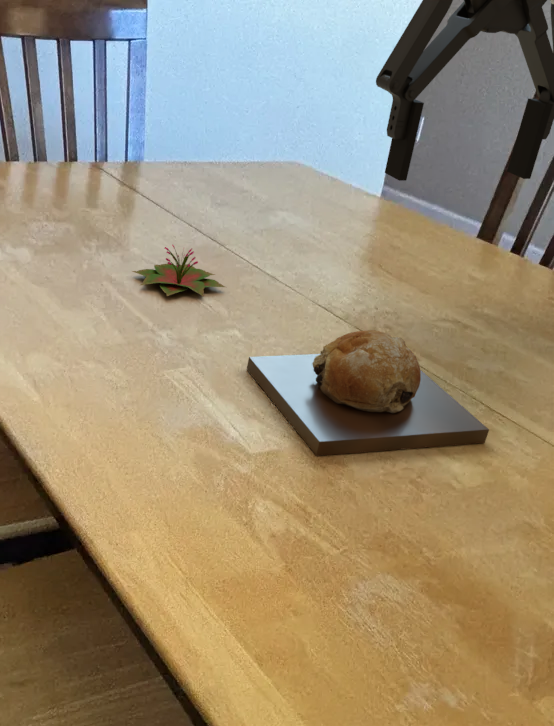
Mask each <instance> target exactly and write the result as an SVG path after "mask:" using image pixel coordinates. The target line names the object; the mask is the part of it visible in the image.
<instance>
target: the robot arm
mask: <svg viewBox="0 0 554 726" xmlns="http://www.w3.org/2000/svg"><path fill="white" fill-rule="evenodd" d="M453 1H454V0H421V2H420V4H419V6H418V7H417V9H416V11H415V13H414V14H413V16H412V17H411V19H410V20H409V22H408V24H407V25H406V27H405V29H404V31H403V33H402V34H401V36H400V38H399V39H398V41H397V43H396V44H395V46H394V48H393V49H392V51H391V53H390V54H389V56H388V58H387V60H386V61H385V63H384V64H383V66H382V67H381V69H380V71H379V73H378V74H377V76H376V78H375V85H376V86H377V87H378V88H380V89H382V90H384V91H385V92H388V93H389V94H390V95H391V97H392V102H391V107H390V112H389V116H388V121H387V127H386V136H387V137H389V138H391V141H390V145H389V151H388V156H387V159H386V164H385V165H386V166H385V171H384V174H386V175H388V176H390V177H392V178H394V179H395V180H397V181H400V182H403V181H407V180H408V176H409V170H410V168H411V167H410V166H411V162H412V158H413V153H414V148H415V144H416V139H417V136H418V131H419V126H420V123H421V118H422V114H423V109H424V104H425V102H423V101H421V100H418V99H417V98H418V97H419V96H420V94H421V93H422V92H423V91H425V89H426V88H427V87H428V86H429V84H430V83H432V81H433V80H434V79H435V78H436V77H437V76H438V74H439V73H441V72H442V70H443V69H445V67H446V66H447V65H448V63H450V61H451V60H452V59H453V58H454V57H455V56H456V55H457V53H458V52H459V51H460V50H461V49H462V48H463V47H464V46H465V45H466V44H467V42H469V40H471V39H473V38H476V36H478V35H479V34H480V33H481V32H482V33H487V34H497V33H500V32H501V33H506V34H510V35H511V34H512V35H515V36H516V37H517V39H518V42H519V45H520V48H521V51H522V53H523V57H524V60H525V63H526V65H527V69H528V72H529V75H530V77H531V80H532V83H533V86H534V89H535V92H536V94H537V97H538V99H537V98H527V101H526V103H525V108H524V111H523V115H522V118H521V122H520V124H519V129H518V132H517V135H516V139H515V142H514V145H513V149H512V152H511V157H510V158H509V159H510V160H509V162H508V166H507V170H506V172H507V173H509V174H512V175H514V176H516V177H518V178H520V179H524V180H529V179H530V180H531V177H532V174H533V172H534V168H535V166H536V165H535V164H536V161H537V158H538V155H539V151H540V148H541V145H542V142H543V140H547V138H548V137H549V135H550V133H551V130H552V127H553V123H554V0H549V2H550V22H551V23H550V24H551V38H552V40H551V41H552V45H551V42H550V39H549V36H548V35H549V34H548V33H547V31H548V30H549V25H548V21H547V18H546V14H545V13H544V12H545V11H544V8H543V6H544V5H545V4H546V2H548V0H463V1H462V3H461V4H460V5H459V6H458V7H456V9H455V10H454V12H453V13H452V14H451V15H450V16H449V17H448V18H447V23H446V25H445V26H444V27H443V28H442V30H441V31H440V32H439V33H437V35H436V36H435V33H436V31H437V30H438V28H439V27H440V25H441V23H442V22H443V20H444V18H445V16H446V15H447V13H448V11H449V10H450V8H451V6H452V4H453ZM434 36H435V37H434ZM433 37H434V38H433ZM432 38H433V40H432ZM431 40H432V41H431Z"/></svg>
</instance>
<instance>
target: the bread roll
mask: <svg viewBox="0 0 554 726" xmlns="http://www.w3.org/2000/svg"><path fill="white" fill-rule="evenodd" d="M320 354H321V355H317V356H316V357H315V358H314V361H313V363H312V365H313V368H314V372H315V373H316V375H318V376H317V377H316V382H317V383H318V386H319V387H320V389H321V390H322V392H323V393H324V394H325V395H327V396H328V397H329V398H330V399H332V400H333V401H334V402H335V403H337V404H345V405H348V406H351V407H353V408H356V409H359V410H363V411H368V412H389V413H392V414H393V413H395V412H399V411H401V410H402V409H403V408H404V407H403V406H405V405H406V404H407V403H408V402H409V401H410V400H411V399H412V398H413V397H415V394H416V392H417V390H418V388H419V385H420V380H421V371H422V370H421V367H420V364H419V362H418V359H417V356H416V355H415V353H414V352H413V351H412V349H411V348H410V347H408V346H407V344H406V342H405V340H404V339H403V338H402V337H399V336H392V335H391V334H390V333H388V332H384V331H380V330H377V329H376V330H375V329H369V330H357V331H352V332H349V333H345V334H343V335H342V336H339V337H336V339H335V340H333V341H331V342H329V343H327V344H325V345H323V346H322V350H320ZM420 370H421V371H420Z"/></svg>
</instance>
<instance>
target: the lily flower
mask: <svg viewBox="0 0 554 726" xmlns="http://www.w3.org/2000/svg"><path fill="white" fill-rule="evenodd" d="M172 247H173V249H174V251H175V255H176V256H175V255H174V254H173V253H172V251H171V250H170V249H169V248H168V247H167V246H164V249H165V250H166V254H168V255H170V256H171V257H172V259H173V261H174V262H175V264H174V263H173V262H172V261H171V260H170V259H169V258H167V257H166V258H165V260H166V261H167V263H161V264H154V265H153V267H154V269H151V268H144V269H139V270H131V272H132V273H135V274H138V275H139V276H143V277H144V279H143V282H142V283H140V284H139V286H144V285H145V286H146V285H151V284H159V287H160V289H161V290H162V291H163V292H164V294H166V297H169V296H172V295H175V294H177V293H180V292H184V291H187V290H188V288H189V289H190V290H192V291H193V292H195V293H197V294H199V295H200V296H202V297H204V296H205V295H204V294H205V293H204V292H205V290H204V289H205V288H226V286H225V285H223V284H221V283H219V281H217V280H215V279H211V278H208V277H211V276H216V274H215V273H212V272H209V271H206V270H204V269H201V268H196V267H195V265H197V264H198V263H199V261H194V260H195V259H196V256H194V257H192V258H191V260H190V261H189V262H188V260H189V257H190V256H192V255H193V254H194V251H193V248H190V249H189V250H188V252H187V253H186V254H185V255H184V253H182V255H181V256H182V259H181V260H180V256H179V254H178V253H177V250H176V247H175V245H174V244H172ZM182 251H185V248H183V249H182ZM193 261H194V262H193ZM187 262H188V263H187ZM192 262H193V263H192ZM191 263H192V264H191Z"/></svg>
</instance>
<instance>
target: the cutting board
mask: <svg viewBox="0 0 554 726" xmlns="http://www.w3.org/2000/svg"><path fill="white" fill-rule="evenodd" d="M317 355H321V353H308V354H285V355H284V354H283V355H282V354H281V355H263V356H261V355H260V356H259V355H258V356H248V359H247V360H248V361H247V365H246V370H247V372H248V373H249V374H250V375H251V377H252V378H253V380H255V381H256V383H257V384H258V385H259V387H260V388H261V389H262V390H263V391H264V393H265V394H266V395H267V397H268V398H269V399H270V400H271V401H272V403H273V405H275V407H276V408H277V409H278V411H279V412H281V414H282V415H283V416H284V417H285V419H286V420H287V421H288V423H289V424H290V425H291V426H292V428H293V429H294V430H295V431H296V432H297V434H298V435H299V436H300V438H301V439H302V441H304V442H305V444H306V445H307V446H308V447H309V449H310V450H311V451H312V453H313V454H314V455H315V456H317V457H319V456H320V457H321V456H334V455H344V454H359V453H372V452H373V453H374V452H384V451H385V452H386V451H396V450H399V451H400V450H409V449H422V448H435V447H437V448H438V447H449V446H462V445H475V444H476V445H477V444H485V443H486V440H487V437H488V436H489V435H488V434H489V433H490V429H489V428H488V427H487V426H486V425H485V424H484V423H482V421H480V420H479V419H478V418H477V417H475V416H474V415H473V414H472V413H471V412H470V411H468V409H466V408H465V407H464V406H463V405H462V404H461V403H459V402H458V401H457V400H456V399H455V398H453V396H452V395H450V394H449V393H448V392H447V391H446V390H444V389H443V388H442V387H441V386H440V385H439V384H438V383H436V382H435V381H434V380H433V379H432V378H431V377H430V376H428V375H427V374H426V373H425V372H424V371H423V370H421V369H420V371H421V380H420V385H419V388H418V390H417V392H416V394H415V397H413V398H412V399H411V400H410V401H409V402H408V403H407V404H406V405H405V406H403V407H404V408H403V409H402V410H401V411H399V412H395V413H393V414H392V413H389V412H368V411H363V410H359V409H356V408H353V407H351V406H348V405H345V404H337V403H335V402H334V401H333V400H332V399H330V398H329V397H328V396H327V395H325V394H324V393H323V392H322V390H321V389H320V387H319V386H318V383H317V382H316V377H317V376H318V375H316V373H315V372H314V368H313V365H312V363H313V361H314V358H315V357H316V356H317Z"/></svg>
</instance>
